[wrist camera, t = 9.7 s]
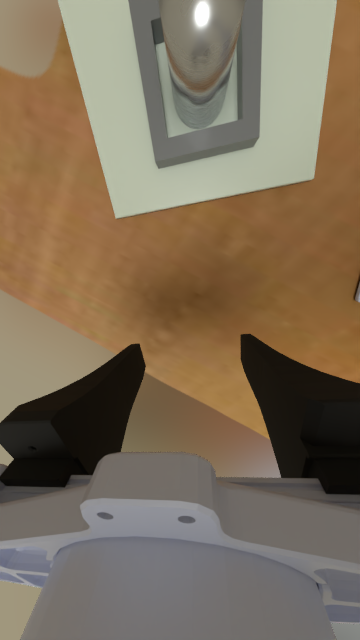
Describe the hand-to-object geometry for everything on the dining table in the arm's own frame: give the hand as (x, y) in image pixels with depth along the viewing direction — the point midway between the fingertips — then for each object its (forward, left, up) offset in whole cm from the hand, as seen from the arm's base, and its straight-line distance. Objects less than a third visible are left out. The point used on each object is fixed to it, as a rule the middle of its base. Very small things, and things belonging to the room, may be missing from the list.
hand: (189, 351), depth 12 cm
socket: (-3, -17, -9) cm, 20 cm away
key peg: (-3, -17, -9) cm, 19 cm away
